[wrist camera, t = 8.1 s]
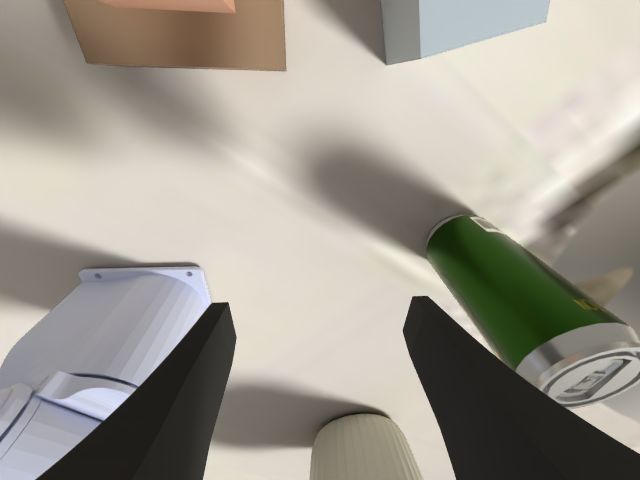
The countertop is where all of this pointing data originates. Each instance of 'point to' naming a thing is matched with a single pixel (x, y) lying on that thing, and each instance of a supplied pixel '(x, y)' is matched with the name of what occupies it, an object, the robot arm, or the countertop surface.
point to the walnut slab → (182, 36)
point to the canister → (362, 451)
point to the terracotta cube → (177, 5)
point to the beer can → (534, 314)
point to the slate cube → (451, 24)
